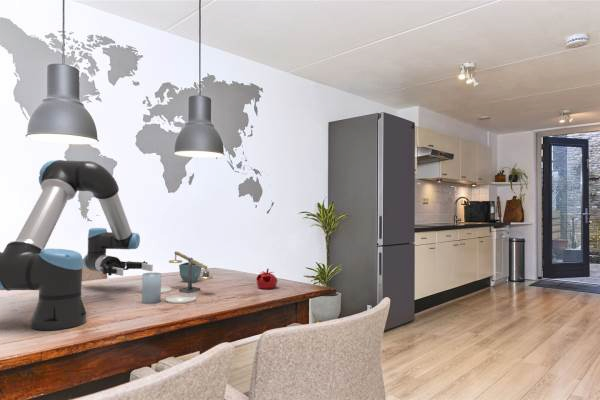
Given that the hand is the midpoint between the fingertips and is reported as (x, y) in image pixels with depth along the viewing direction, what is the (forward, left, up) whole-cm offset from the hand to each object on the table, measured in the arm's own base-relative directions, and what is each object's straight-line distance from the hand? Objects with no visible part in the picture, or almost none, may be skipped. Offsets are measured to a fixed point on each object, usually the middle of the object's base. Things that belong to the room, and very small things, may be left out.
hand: (137, 270), depth 164 cm
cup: (0, -10, -11) cm, 15 cm away
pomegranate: (+51, -28, -12) cm, 59 cm away
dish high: (+14, +5, -11) cm, 19 cm away
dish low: (+9, -17, -11) cm, 22 cm away
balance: (+23, -6, -11) cm, 26 cm away
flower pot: (+39, +12, -12) cm, 42 cm away
